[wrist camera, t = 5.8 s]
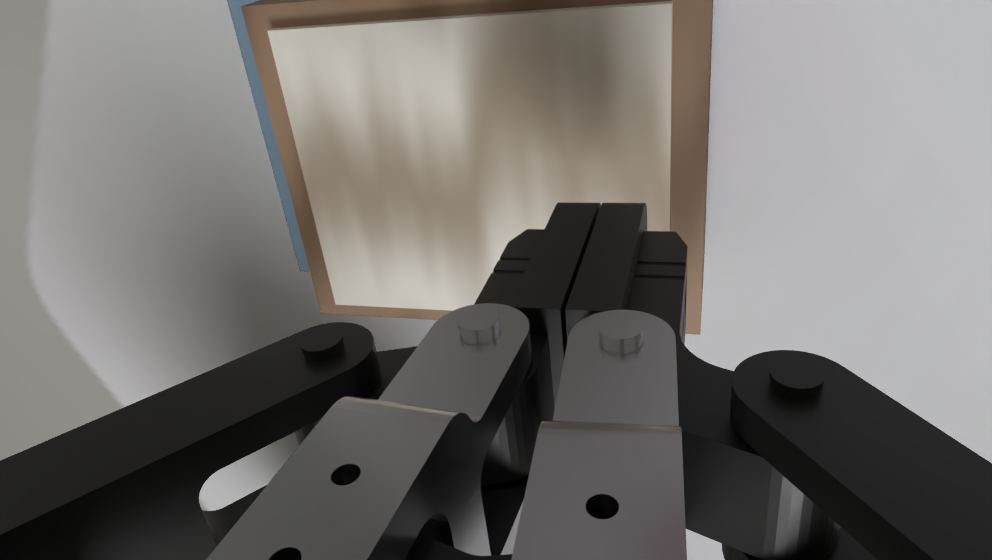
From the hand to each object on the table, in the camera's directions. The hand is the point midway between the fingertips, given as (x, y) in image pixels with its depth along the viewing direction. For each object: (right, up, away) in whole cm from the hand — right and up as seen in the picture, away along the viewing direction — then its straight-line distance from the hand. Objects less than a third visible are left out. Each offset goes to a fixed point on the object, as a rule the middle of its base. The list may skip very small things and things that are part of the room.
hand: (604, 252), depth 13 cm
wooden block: (+3, +3, +4) cm, 6 cm away
